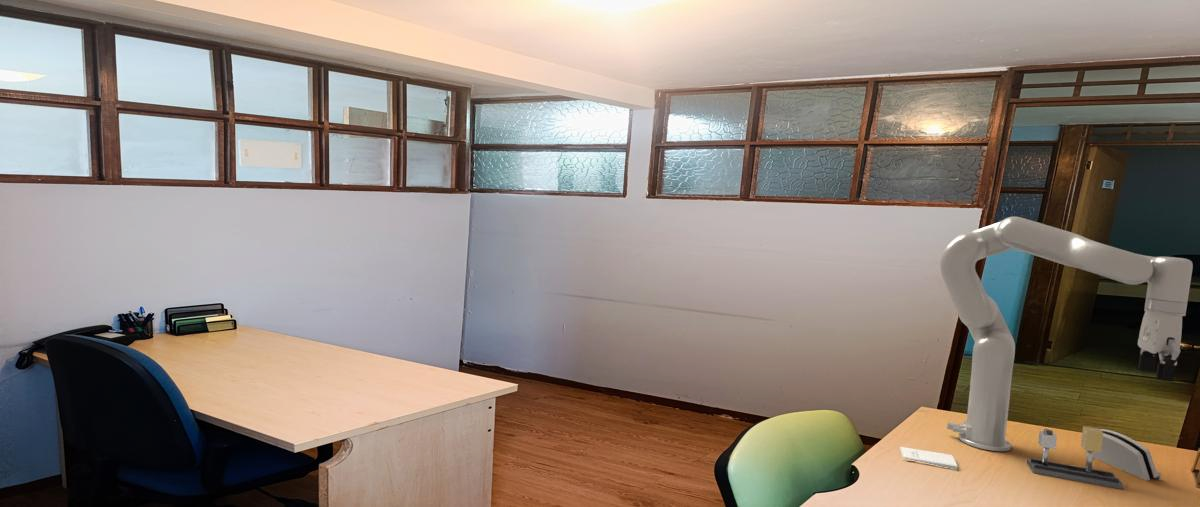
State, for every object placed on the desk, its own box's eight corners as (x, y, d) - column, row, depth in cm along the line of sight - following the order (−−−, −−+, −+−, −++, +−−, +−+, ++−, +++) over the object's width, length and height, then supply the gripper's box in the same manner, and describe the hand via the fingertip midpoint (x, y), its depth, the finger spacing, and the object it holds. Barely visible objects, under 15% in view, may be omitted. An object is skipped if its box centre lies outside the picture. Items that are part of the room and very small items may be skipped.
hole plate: (1033, 472, 155) (1037, 432, 154) (1026, 462, 161) (1030, 423, 161) (1122, 489, 148) (1128, 447, 147) (1112, 478, 154) (1117, 437, 154)
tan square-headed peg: (1082, 472, 152) (1087, 430, 152) (1078, 467, 155) (1083, 426, 155) (1098, 475, 151) (1103, 432, 150) (1093, 470, 154) (1098, 428, 153)
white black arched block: (1163, 480, 155) (1156, 444, 153) (1147, 486, 154) (1140, 450, 153) (1101, 453, 171) (1094, 420, 170) (1086, 459, 171) (1079, 425, 169)
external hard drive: (957, 472, 154) (902, 462, 159) (951, 460, 162) (899, 451, 166) (957, 465, 154) (902, 456, 159) (952, 454, 162) (899, 445, 166)
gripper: (1131, 300, 161) (1121, 365, 162) (1162, 310, 145) (1152, 381, 146) (1167, 304, 158) (1157, 369, 160) (1203, 314, 142) (1192, 387, 144)
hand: (1155, 375), depth 153 cm, fingers open, 9 cm apart
